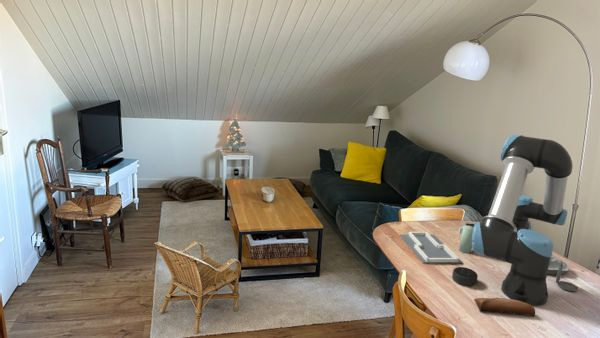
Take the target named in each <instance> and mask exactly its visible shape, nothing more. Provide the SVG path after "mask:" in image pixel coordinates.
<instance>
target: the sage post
mask: <svg viewBox="0 0 600 338" xmlns="http://www.w3.org/2000/svg"><path fill="white" fill-rule="evenodd" d="M462 227H463V230H462V233H461V237H460V243H459V249H458V250H459V252H460V253H463V254H471V253H472V251H473V249H472V234H473V228H474V227H472V226H468V225H466V224H465V225H463V226H462Z"/></svg>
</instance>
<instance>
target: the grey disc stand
mask: <svg viewBox="0 0 600 338" xmlns="http://www.w3.org/2000/svg"><path fill="white" fill-rule="evenodd" d="M561 262H563V260H561ZM562 266H563V263H561V266H560V267H559V269H558V273H557V275H556V278H555V283H556V284H557V286H558V287H559V288H561V289H562V290H565V291H568V292H577V291H578V290H579V288H578V286H576V285H575V284H574V283H571V282H569V281H563V280H560V279H561V276H562V275H561V273H562Z"/></svg>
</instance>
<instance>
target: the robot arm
mask: <svg viewBox="0 0 600 338" xmlns="http://www.w3.org/2000/svg"><path fill="white" fill-rule="evenodd" d="M500 160H501V162H502V165H503V167H504V169H503V172H502V174H501V179H500V181H499V184H498V185H497V188H496V193H495V195H494V198H493V200H492V203H491V207H490V208H489V211H488V215H485V216H483V217H482V219H481V221H476V222H474V223H465V225H468V226H472V227H474V228H473V234H472V251H473V252H474V253H476V254H477V255H481V256H484V257H487V258H490V259H495V260H497V261H500V262H505V263H508V264H510V270H509V272H508V273H507V275H506V276H505V278H504V280H502V282H501V287H500V289H501V291H502V293H503V294H504V295H505V296H506V297H507V298H508V299H513V300H518V301H521V302H524V303H527V304H530V305H532V306H543V305H545V304H546V303H547V302H548V297H549V293H548V286H547V276H548V274H547V273H548V268H549V263H550V259H551V257H552V256H553V249H554V243H553V242H552V240H551V239H550V238H549V237H548V236H546V235H544V234H543V233H542V232H541V233H540V232H538V231H536V230H532V225H531V224H532V223H531V222H530V221H529V219H532V220H537V221H540V222H544V223H546V224H547V223H549V224H552V225H557V226H564V225H565V224H566V220H567V216H568V209H565V208H564V203H565V196H566V192H567V191H566V189H567V184H568V180H569V179H568V177H570V175H572V172H573V160H572V158H571V155H570V153H569V152H568V150H567V149H566V148H565V147H564V146H563V145H562V144H560V143H559V142H557V141H555V140H553V139H544V138H539V137H538V138H537V137H530V136H524V135H522V134H521V135H516V134H514V135H509V137H507V139H506V140H505V141H504V144H503V146H502V149H501V152H500ZM535 168H539V169H544V173H545V174H546V177H545V186H544V195H543V204H542V203H538V202H534V201H533V198H532V197H531V196H528V195H525V194H522V192H523V190H524V187H525V184H526V180H527V177H528V174H531V173H533V172H534V169H535ZM462 230H463V226H460V227H459V228H458V234H462Z"/></svg>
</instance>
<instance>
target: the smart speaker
mask: <svg viewBox="0 0 600 338" xmlns="http://www.w3.org/2000/svg"><path fill="white" fill-rule="evenodd" d="M451 278H452V280H453V281H454V282H455V283H456V284H458V285H461V286H466V287H472V286H475V285H476V284H477V282H478V273H477V272H476V271H475V270H473V269H471V268H469V267H463V266H457V267H454V268H453V271H452V275H451Z"/></svg>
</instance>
